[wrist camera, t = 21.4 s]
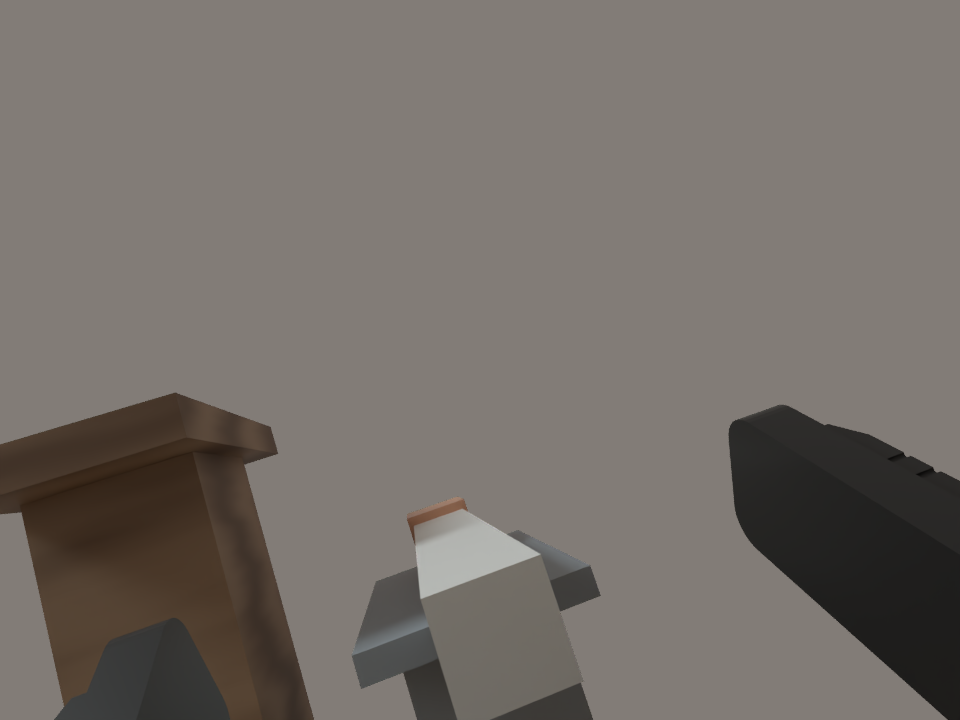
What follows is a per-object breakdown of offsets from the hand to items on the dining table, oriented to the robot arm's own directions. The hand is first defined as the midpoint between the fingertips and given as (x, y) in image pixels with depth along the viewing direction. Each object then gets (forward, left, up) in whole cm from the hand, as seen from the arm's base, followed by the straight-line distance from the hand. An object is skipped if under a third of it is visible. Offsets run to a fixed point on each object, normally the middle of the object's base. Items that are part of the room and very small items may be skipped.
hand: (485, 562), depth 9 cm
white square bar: (-6, -13, -3) cm, 14 cm away
